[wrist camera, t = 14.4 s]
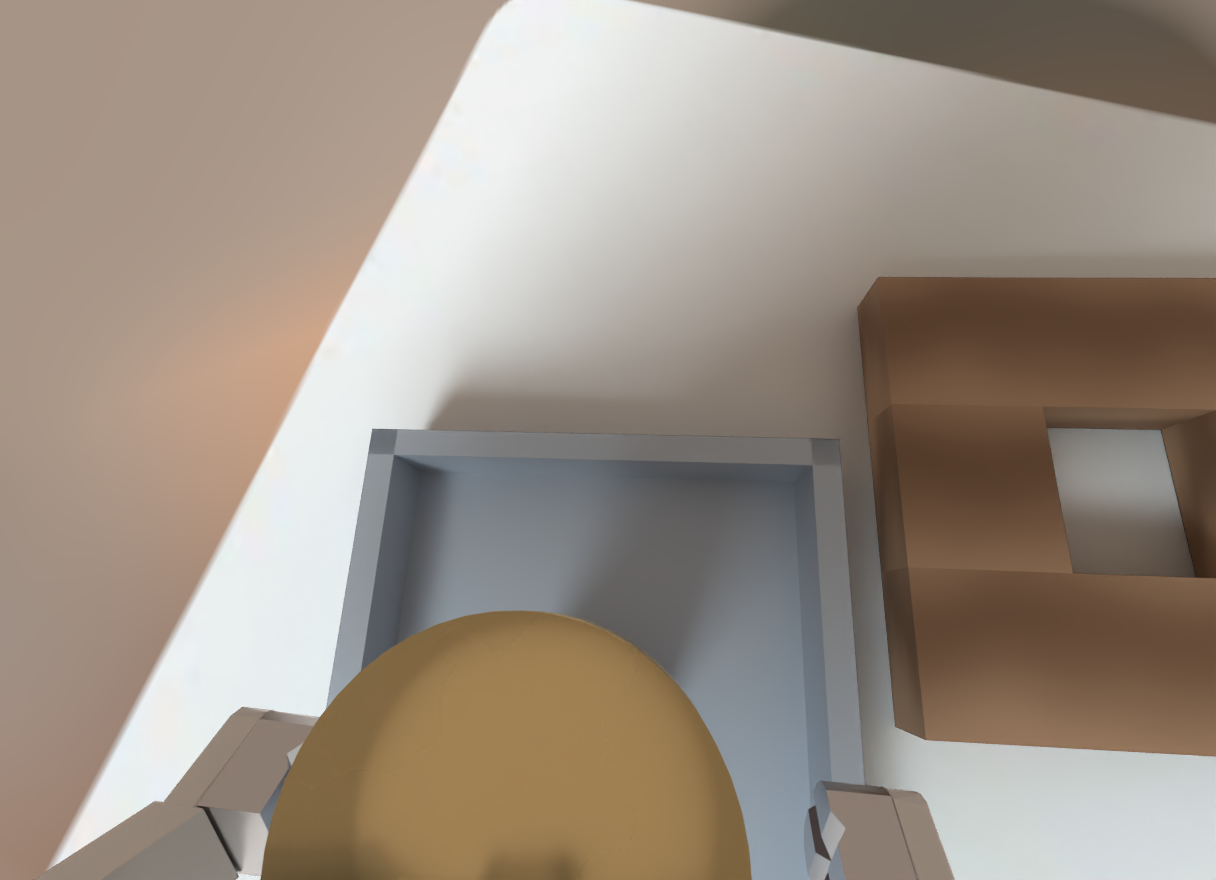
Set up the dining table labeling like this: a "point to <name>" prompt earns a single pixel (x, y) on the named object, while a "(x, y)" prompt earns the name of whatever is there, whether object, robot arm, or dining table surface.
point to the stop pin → (509, 765)
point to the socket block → (1038, 508)
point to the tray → (638, 581)
